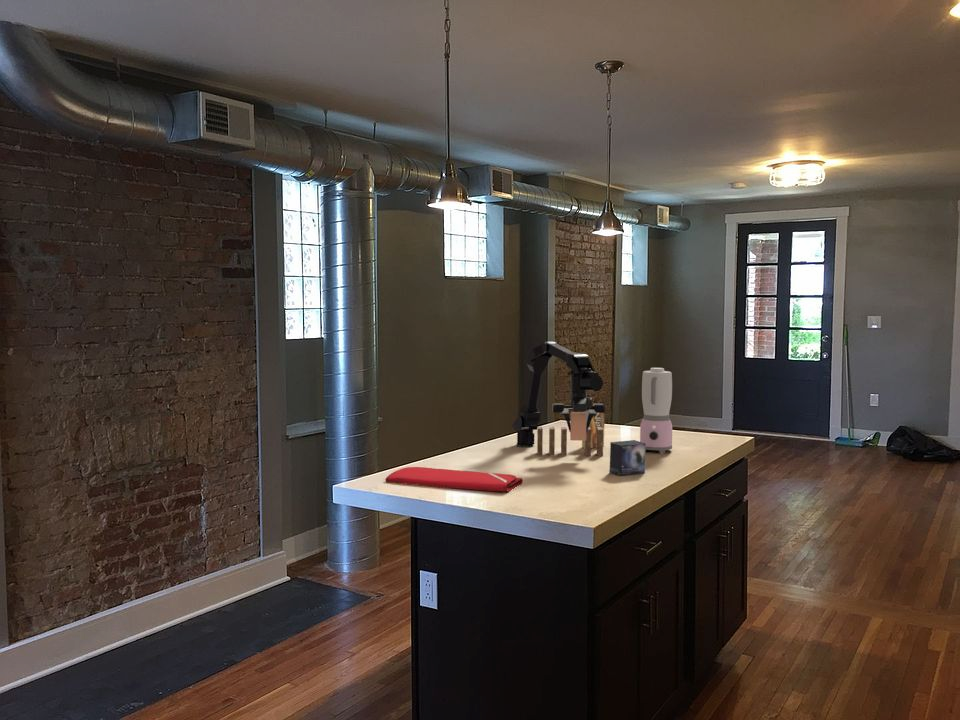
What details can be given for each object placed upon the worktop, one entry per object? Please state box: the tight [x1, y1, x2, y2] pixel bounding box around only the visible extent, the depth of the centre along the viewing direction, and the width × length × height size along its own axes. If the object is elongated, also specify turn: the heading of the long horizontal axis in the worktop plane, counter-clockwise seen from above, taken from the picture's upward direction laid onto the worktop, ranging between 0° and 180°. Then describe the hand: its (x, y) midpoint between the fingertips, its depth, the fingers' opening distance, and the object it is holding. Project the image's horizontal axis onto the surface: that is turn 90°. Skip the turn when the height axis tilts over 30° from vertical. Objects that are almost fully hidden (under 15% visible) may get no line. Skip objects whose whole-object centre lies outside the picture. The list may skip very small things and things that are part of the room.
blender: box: [639, 367, 673, 454], centre depth 303 cm, size 16×12×32 cm
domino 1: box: [536, 426, 544, 456], centre depth 298 cm, size 2×6×10 cm, turn 177°
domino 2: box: [548, 426, 556, 456], centre depth 298 cm, size 2×6×10 cm, turn 177°
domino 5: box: [584, 427, 592, 457], centre depth 297 cm, size 2×6×10 cm, turn 177°
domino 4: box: [569, 411, 586, 442], centre depth 286 cm, size 2×6×10 cm, turn 87°
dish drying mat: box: [384, 466, 524, 493], centre depth 250 cm, size 16×41×4 cm, turn 67°
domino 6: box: [596, 427, 604, 457], centre depth 297 cm, size 2×6×10 cm, turn 177°
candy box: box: [581, 411, 606, 449], centre depth 312 cm, size 9×4×15 cm, turn 129°
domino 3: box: [560, 426, 568, 456], centre depth 297 cm, size 2×6×10 cm, turn 177°
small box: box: [608, 439, 646, 477], centre depth 264 cm, size 11×6×10 cm, turn 117°
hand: (578, 431), depth 287 cm, fingers closed on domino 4, 6 cm apart
